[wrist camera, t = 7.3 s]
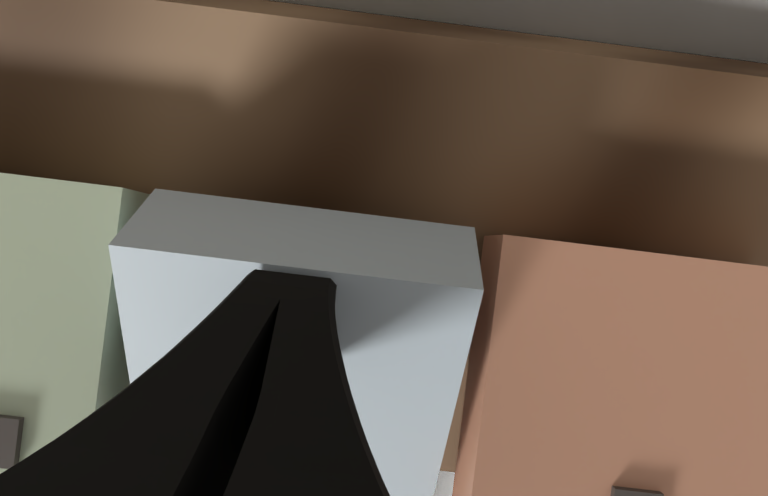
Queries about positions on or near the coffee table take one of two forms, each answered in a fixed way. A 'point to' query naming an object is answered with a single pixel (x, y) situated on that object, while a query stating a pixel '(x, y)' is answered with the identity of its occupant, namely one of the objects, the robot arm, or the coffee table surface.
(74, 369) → the tile
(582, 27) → the coffee table surface
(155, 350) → the tile
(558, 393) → the tile
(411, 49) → the board
